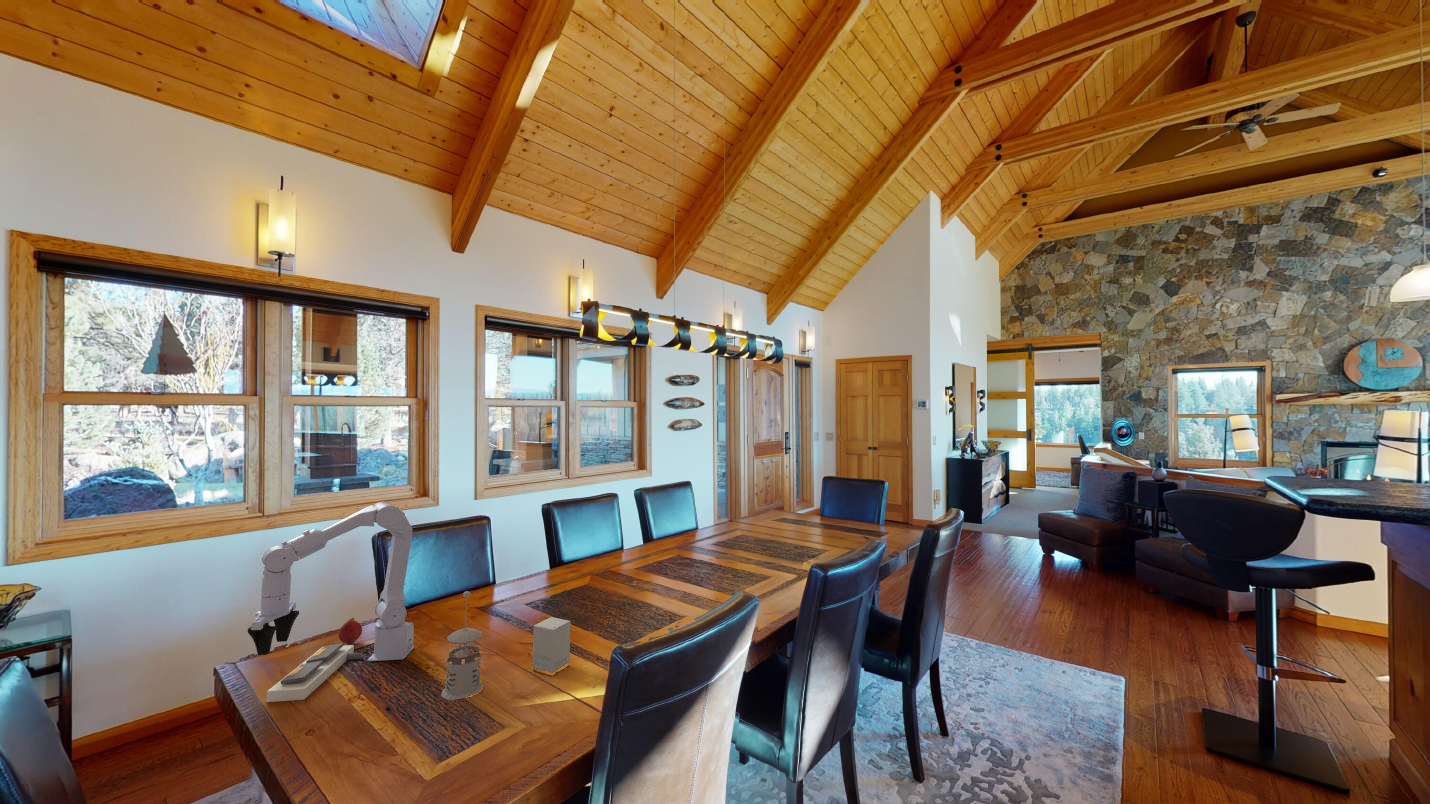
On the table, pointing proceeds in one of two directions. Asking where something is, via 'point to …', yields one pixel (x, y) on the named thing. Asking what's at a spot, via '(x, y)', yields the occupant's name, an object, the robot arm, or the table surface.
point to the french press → (465, 675)
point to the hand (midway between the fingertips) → (273, 647)
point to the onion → (350, 631)
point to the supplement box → (551, 644)
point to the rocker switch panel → (311, 677)
